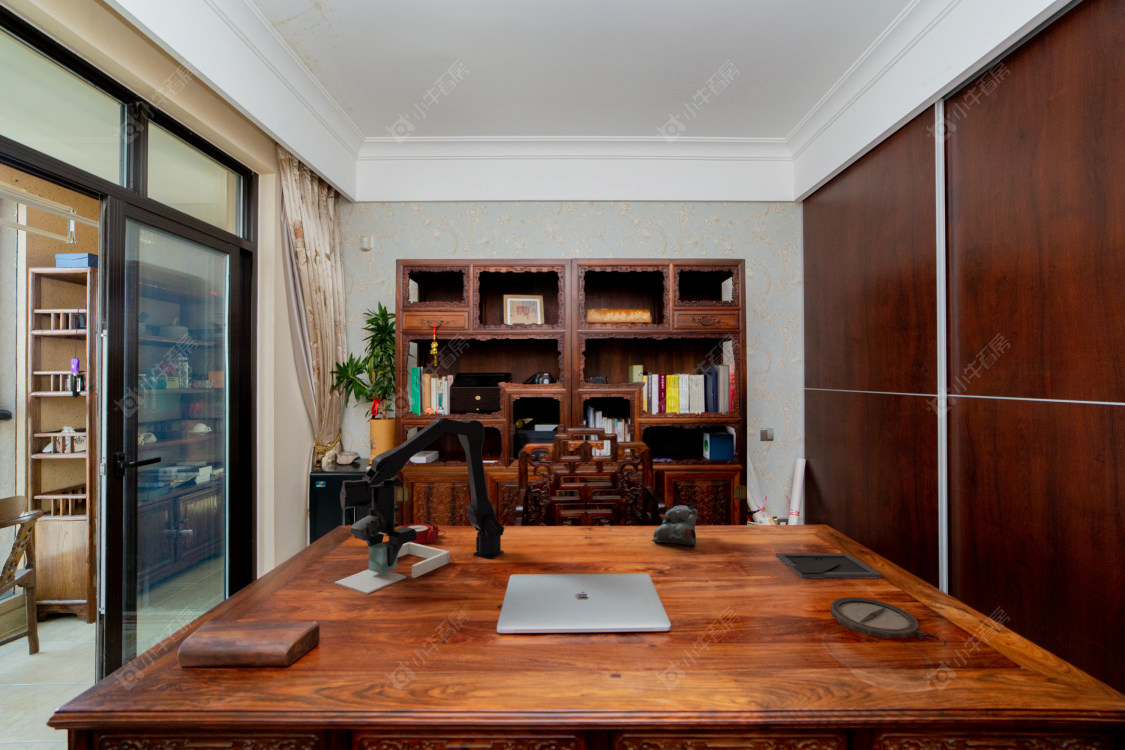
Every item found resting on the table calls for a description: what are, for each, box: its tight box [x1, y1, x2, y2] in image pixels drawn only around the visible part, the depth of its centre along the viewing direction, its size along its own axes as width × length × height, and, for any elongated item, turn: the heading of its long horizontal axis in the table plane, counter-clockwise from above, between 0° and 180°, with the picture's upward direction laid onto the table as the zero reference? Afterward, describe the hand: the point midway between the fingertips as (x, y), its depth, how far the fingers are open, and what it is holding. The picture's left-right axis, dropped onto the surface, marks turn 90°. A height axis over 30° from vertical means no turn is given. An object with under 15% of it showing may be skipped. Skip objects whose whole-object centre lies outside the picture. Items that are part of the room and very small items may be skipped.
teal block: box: [368, 541, 398, 574], centre depth 136 cm, size 5×5×6 cm
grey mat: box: [334, 568, 407, 595], centre depth 133 cm, size 12×12×1 cm
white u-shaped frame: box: [397, 542, 451, 579], centre depth 144 cm, size 16×13×3 cm
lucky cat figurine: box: [651, 504, 698, 548], centre depth 164 cm, size 15×12×14 cm
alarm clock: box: [398, 522, 447, 545], centre depth 166 cm, size 10×6×15 cm
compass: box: [830, 596, 939, 639], centre depth 112 cm, size 20×16×2 cm
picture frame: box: [775, 552, 882, 579], centre depth 145 cm, size 16×2×21 cm
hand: (383, 564), depth 136 cm, fingers closed on teal block, 5 cm apart
